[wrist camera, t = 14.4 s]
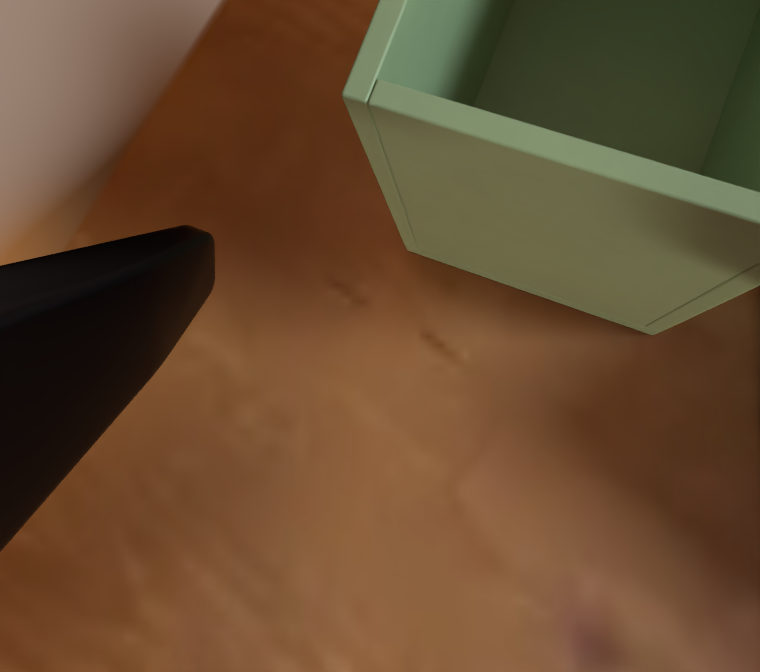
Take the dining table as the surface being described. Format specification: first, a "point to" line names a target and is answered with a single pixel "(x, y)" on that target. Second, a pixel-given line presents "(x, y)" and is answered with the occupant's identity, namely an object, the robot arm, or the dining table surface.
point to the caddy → (572, 146)
